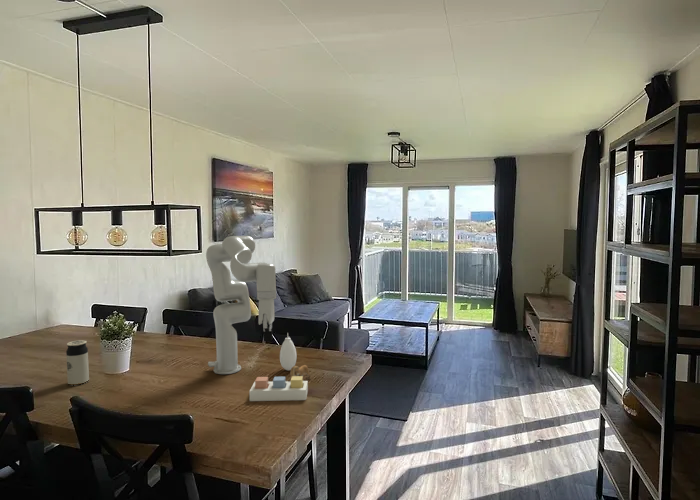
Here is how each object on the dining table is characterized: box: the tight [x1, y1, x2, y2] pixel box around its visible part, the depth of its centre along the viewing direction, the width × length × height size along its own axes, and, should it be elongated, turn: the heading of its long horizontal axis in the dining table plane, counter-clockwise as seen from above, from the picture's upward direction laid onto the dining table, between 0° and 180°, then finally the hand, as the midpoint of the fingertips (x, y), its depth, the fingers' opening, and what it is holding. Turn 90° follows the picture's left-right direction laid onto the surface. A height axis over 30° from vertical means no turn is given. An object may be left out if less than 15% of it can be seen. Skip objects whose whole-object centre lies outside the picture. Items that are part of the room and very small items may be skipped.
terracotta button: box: [254, 376, 269, 389], centre depth 174 cm, size 4×4×4 cm
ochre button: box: [290, 375, 304, 388], centre depth 174 cm, size 4×4×4 cm
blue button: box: [272, 376, 287, 388], centre depth 174 cm, size 4×4×4 cm
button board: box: [248, 380, 309, 402], centre depth 174 cm, size 22×10×4 cm, turn 92°
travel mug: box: [65, 339, 90, 385], centre depth 190 cm, size 8×8×18 cm
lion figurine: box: [289, 364, 311, 380], centre depth 189 cm, size 15×5×9 cm, turn 163°
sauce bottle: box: [279, 332, 298, 372], centre depth 205 cm, size 8×8×18 cm
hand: (268, 340), depth 172 cm, fingers closed
